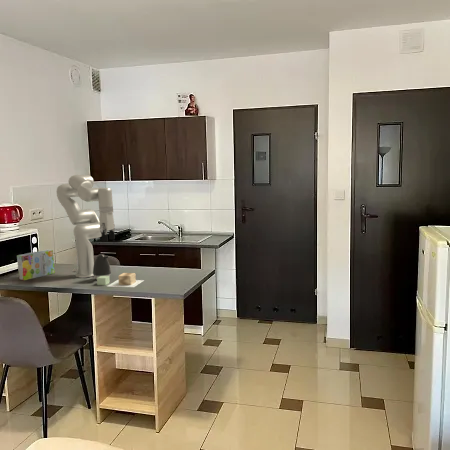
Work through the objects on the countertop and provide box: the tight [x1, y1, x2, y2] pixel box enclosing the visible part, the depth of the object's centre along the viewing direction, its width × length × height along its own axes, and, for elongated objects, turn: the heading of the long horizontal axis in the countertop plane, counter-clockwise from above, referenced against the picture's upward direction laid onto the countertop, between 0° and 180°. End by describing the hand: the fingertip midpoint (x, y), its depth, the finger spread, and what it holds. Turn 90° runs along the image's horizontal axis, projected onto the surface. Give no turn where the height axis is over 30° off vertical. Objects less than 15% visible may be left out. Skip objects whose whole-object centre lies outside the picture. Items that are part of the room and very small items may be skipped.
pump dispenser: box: [93, 253, 112, 281], centre depth 268 cm, size 10×10×15 cm
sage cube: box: [96, 276, 111, 286], centre depth 254 cm, size 5×5×5 cm
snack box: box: [16, 249, 56, 281], centre depth 281 cm, size 21×6×15 cm, turn 145°
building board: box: [106, 279, 145, 288], centre depth 255 cm, size 16×15×1 cm
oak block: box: [118, 272, 137, 285], centre depth 254 cm, size 7×7×5 cm
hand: (108, 240), depth 257 cm, fingers open, 9 cm apart
